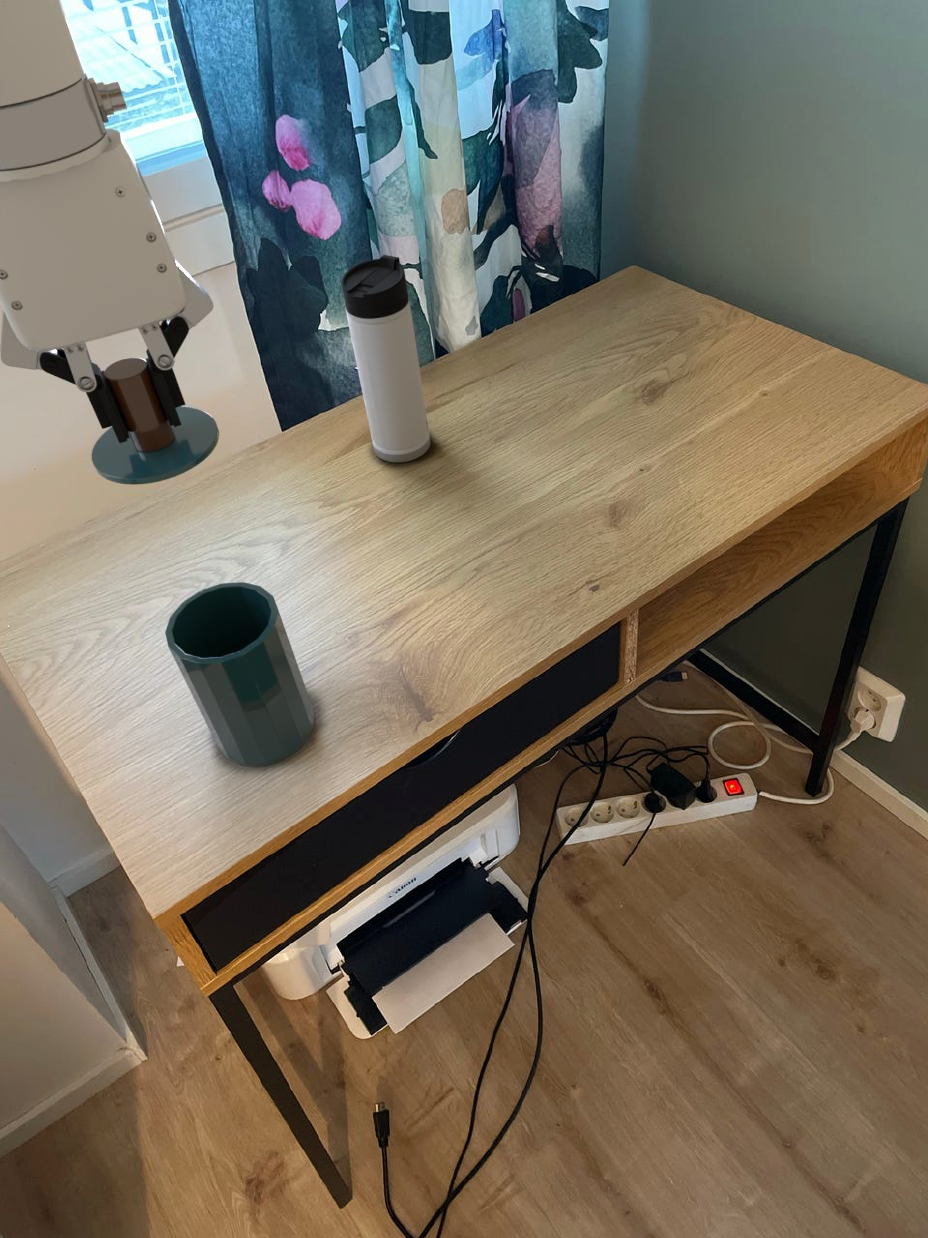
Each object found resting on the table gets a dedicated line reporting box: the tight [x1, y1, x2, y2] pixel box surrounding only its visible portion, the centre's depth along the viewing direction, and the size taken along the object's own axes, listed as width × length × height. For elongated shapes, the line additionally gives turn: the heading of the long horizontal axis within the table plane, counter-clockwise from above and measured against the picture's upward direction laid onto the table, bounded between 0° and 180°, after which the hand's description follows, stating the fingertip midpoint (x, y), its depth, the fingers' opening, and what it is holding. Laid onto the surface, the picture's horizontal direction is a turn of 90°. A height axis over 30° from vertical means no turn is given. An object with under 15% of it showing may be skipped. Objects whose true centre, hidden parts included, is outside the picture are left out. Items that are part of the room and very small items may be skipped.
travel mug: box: [340, 254, 431, 463], centre depth 92 cm, size 6×7×20 cm
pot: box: [164, 581, 315, 768], centre depth 69 cm, size 8×8×12 cm
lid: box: [90, 357, 220, 486], centre depth 60 cm, size 9×9×7 cm
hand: (147, 422), depth 60 cm, fingers closed on lid, 2 cm apart
